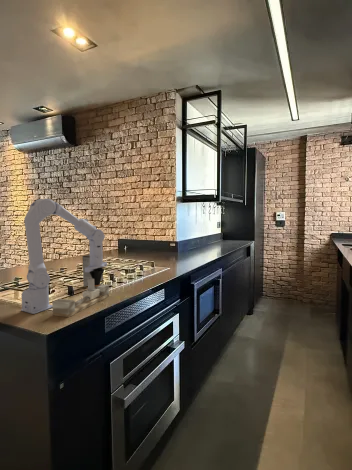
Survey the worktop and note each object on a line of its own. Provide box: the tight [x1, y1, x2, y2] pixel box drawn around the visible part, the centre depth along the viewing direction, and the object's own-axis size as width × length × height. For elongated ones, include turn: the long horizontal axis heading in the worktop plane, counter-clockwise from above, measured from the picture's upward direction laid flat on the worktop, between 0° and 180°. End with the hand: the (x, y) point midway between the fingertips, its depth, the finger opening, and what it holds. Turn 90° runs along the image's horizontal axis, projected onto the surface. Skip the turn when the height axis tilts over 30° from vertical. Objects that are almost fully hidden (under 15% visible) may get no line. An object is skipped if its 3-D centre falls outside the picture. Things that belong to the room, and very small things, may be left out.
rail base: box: [51, 283, 110, 318], centre depth 123 cm, size 28×7×5 cm, turn 161°
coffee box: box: [81, 253, 104, 287], centre depth 155 cm, size 9×6×16 cm
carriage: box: [82, 279, 100, 300], centre depth 128 cm, size 6×4×8 cm
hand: (96, 284), depth 134 cm, fingers closed, pressing on reset button
